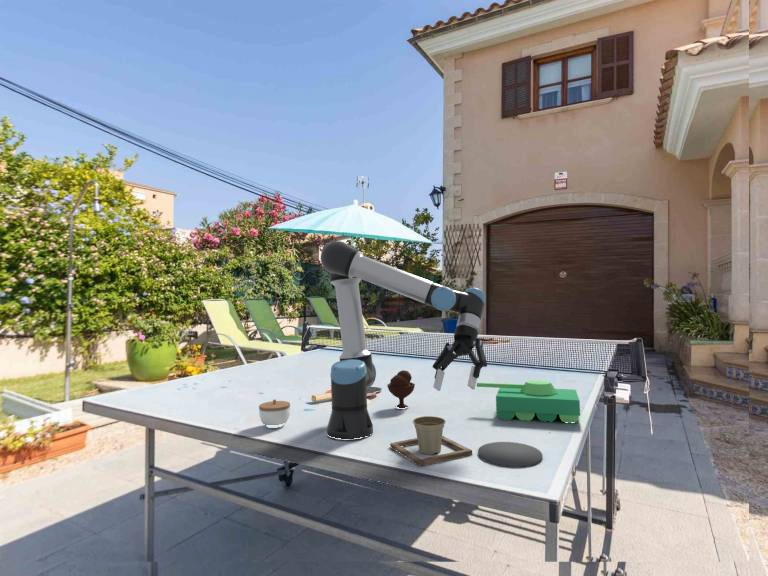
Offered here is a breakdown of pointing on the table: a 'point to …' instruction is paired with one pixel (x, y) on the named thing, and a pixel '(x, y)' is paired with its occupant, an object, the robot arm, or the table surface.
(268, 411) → the lidded jar
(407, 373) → the ice cream bowl
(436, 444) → the flower pot
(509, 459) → the rubber mat
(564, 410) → the toy tank
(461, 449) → the walnut frame
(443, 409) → the table surface
